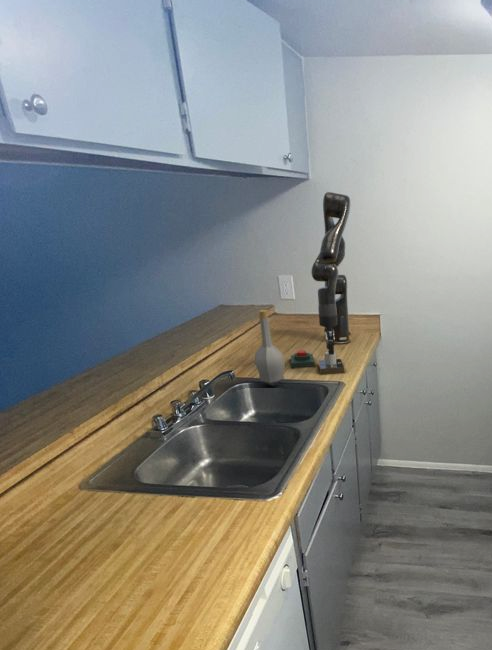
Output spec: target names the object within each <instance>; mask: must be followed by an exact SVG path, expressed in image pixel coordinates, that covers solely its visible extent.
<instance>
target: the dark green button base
mask: <svg viewBox="0 0 492 650" xmlns="http://www.w3.org/2000/svg"><path fill="white" fill-rule="evenodd" d="M290 365H291V369H297V368H310V367H311V368H312V367H315V359H314V355H313V353H309V352H306V356H297V352H296V353H294V354H290Z"/></svg>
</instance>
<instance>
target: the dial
mask: <svg viewBox="0 0 492 650" xmlns="http://www.w3.org/2000/svg"><path fill="white" fill-rule="evenodd" d="M336 359H337V352H336V351H335V350H334V354H333V355H329V350H327V351H325V352H324V360H325V364H326V365H335V364H336Z"/></svg>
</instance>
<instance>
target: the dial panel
mask: <svg viewBox="0 0 492 650" xmlns="http://www.w3.org/2000/svg"><path fill="white" fill-rule="evenodd" d="M318 368H319V372H320V375H332V374H344V373H345V366H344V363H343V360H342V358H336V364H335V365H326V364H325V359H318Z"/></svg>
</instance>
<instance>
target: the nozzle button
mask: <svg viewBox="0 0 492 650" xmlns="http://www.w3.org/2000/svg"><path fill="white" fill-rule="evenodd" d="M296 353H297V356H306V353H307V351H306V350H303V349H302V350H297V351H296Z"/></svg>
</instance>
